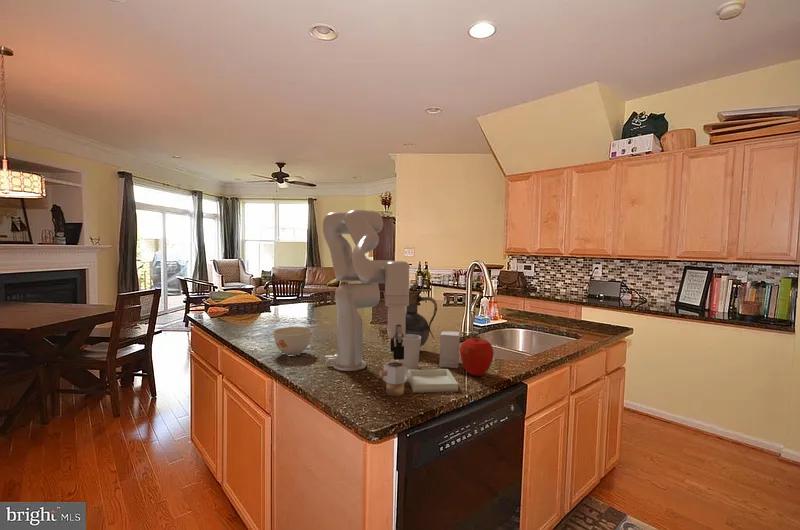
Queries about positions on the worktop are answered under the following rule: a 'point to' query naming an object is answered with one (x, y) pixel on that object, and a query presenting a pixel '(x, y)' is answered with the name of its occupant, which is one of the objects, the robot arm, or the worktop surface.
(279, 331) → the bowl
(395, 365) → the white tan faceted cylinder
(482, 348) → the apple
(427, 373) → the tray
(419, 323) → the pitcher
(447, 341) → the supplement box
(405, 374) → the ring
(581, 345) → the worktop surface
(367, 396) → the worktop surface
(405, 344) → the cup
